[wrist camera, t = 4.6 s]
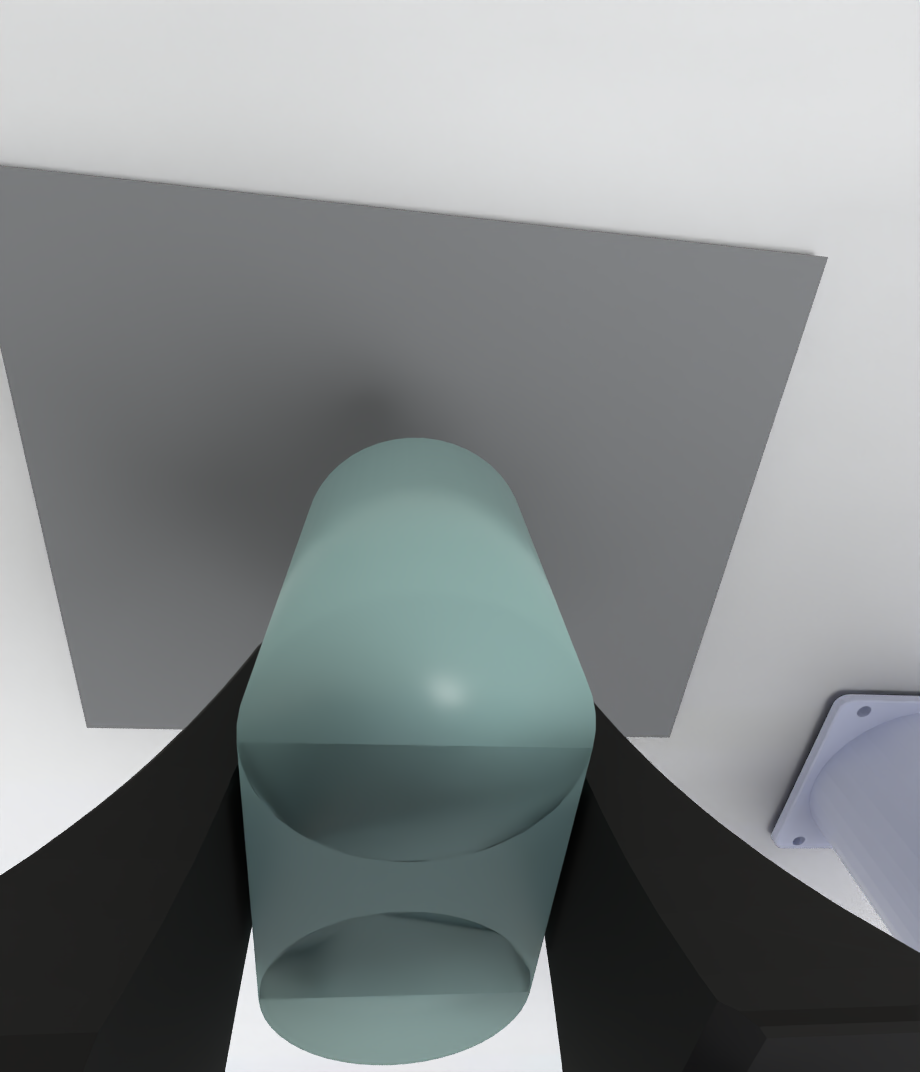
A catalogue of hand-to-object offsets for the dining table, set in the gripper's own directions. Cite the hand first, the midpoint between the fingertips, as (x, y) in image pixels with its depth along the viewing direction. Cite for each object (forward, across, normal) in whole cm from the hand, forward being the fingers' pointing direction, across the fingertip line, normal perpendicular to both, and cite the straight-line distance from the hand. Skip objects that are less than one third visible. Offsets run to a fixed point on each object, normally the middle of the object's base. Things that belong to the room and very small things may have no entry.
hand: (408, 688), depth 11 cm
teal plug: (+1, 0, +1) cm, 2 cm away
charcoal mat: (+8, 0, 0) cm, 8 cm away
